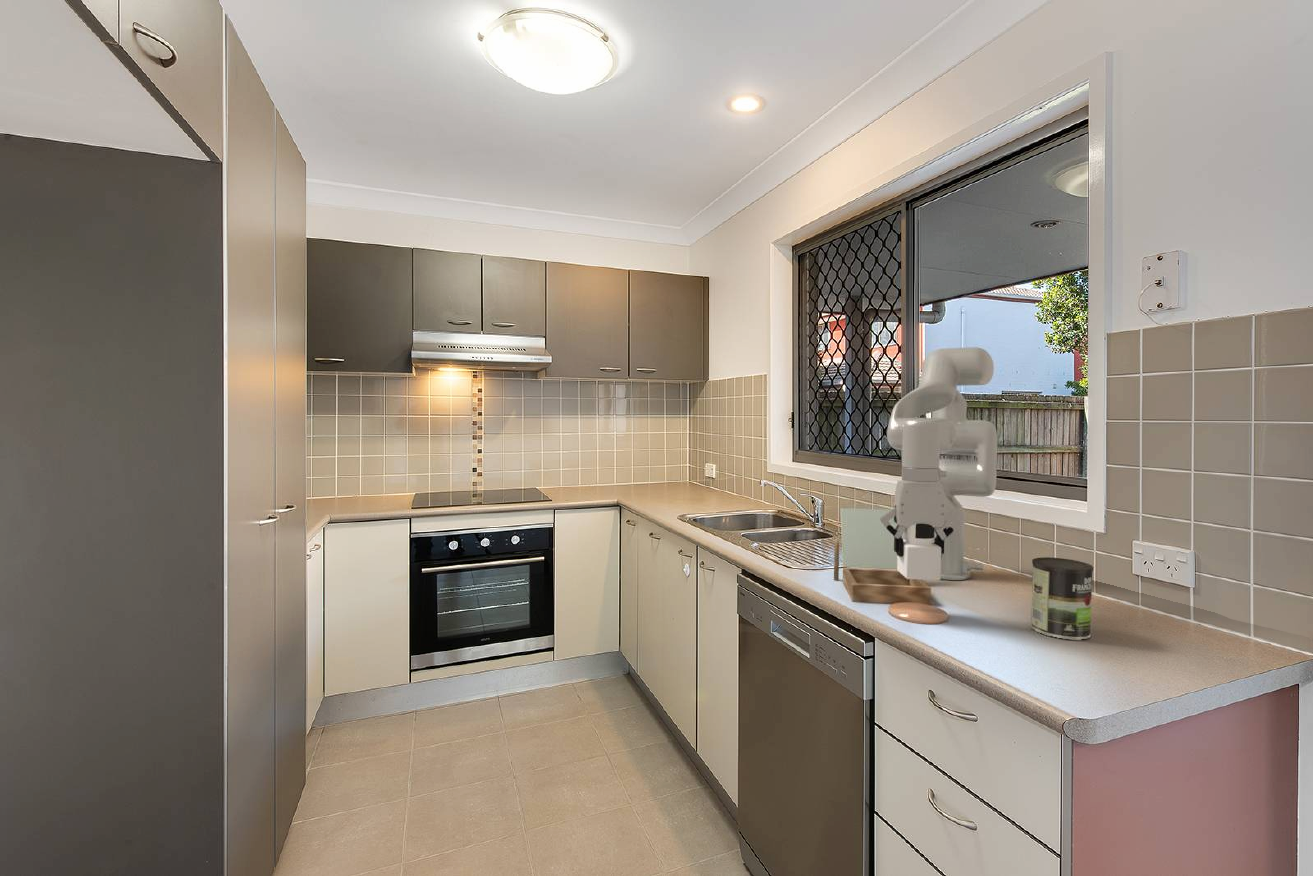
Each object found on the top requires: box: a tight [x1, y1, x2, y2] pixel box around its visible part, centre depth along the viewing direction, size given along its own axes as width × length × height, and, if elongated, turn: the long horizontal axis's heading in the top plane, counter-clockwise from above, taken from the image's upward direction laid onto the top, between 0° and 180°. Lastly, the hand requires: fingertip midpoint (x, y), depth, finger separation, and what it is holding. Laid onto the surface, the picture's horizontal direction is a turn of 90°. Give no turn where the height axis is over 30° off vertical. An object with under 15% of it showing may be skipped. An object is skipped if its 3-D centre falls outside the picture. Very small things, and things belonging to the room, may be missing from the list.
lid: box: [839, 507, 906, 570], centre depth 160 cm, size 17×15×2 cm
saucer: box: [888, 602, 949, 625], centre depth 134 cm, size 12×12×1 cm
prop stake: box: [833, 537, 840, 582], centre depth 161 cm, size 1×1×11 cm
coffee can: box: [1030, 556, 1094, 641], centre depth 123 cm, size 10×10×14 cm
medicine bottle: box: [896, 523, 942, 581], centre depth 133 cm, size 7×7×12 cm
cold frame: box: [842, 567, 932, 606], centre depth 149 cm, size 17×15×4 cm
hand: (918, 555), depth 133 cm, fingers closed on medicine bottle, 7 cm apart
